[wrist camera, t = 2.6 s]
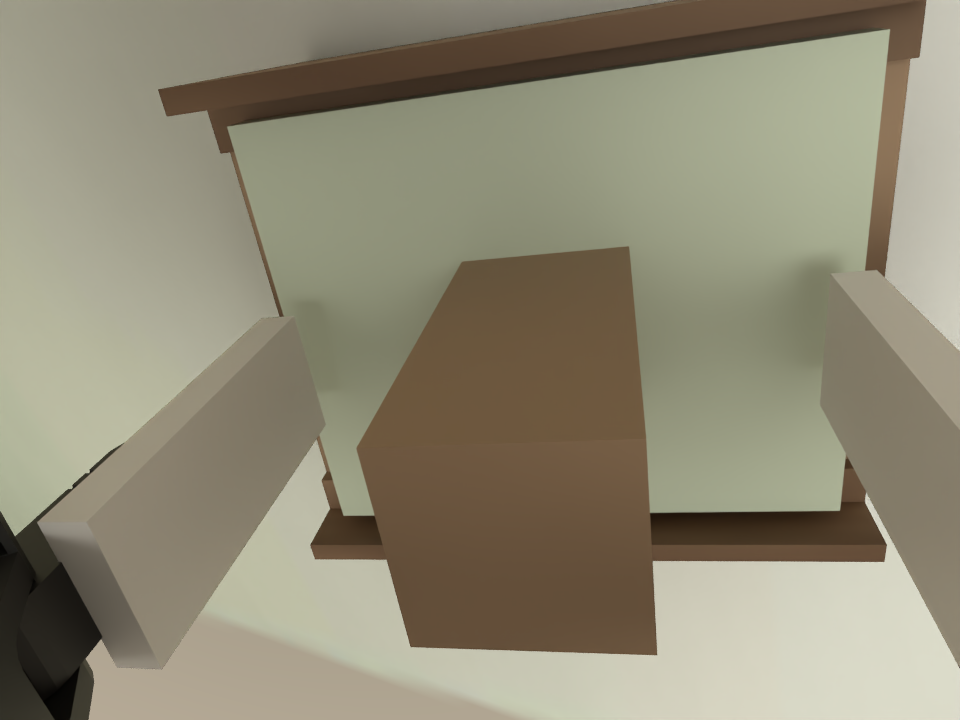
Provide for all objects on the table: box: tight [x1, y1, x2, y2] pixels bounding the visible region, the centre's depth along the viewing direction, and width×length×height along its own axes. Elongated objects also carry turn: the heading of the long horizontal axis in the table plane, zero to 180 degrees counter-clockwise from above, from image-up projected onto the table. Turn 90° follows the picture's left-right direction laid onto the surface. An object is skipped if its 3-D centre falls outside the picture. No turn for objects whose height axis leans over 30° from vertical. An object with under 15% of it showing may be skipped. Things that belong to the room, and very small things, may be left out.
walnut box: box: [158, 0, 926, 562], centre depth 18 cm, size 12×14×8 cm
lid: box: [227, 28, 890, 655], centre depth 12 cm, size 10×12×8 cm
